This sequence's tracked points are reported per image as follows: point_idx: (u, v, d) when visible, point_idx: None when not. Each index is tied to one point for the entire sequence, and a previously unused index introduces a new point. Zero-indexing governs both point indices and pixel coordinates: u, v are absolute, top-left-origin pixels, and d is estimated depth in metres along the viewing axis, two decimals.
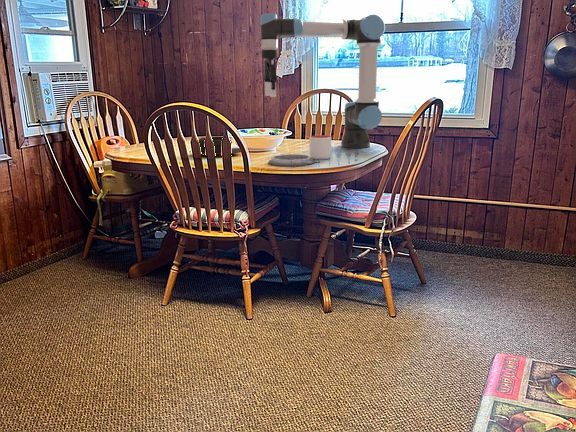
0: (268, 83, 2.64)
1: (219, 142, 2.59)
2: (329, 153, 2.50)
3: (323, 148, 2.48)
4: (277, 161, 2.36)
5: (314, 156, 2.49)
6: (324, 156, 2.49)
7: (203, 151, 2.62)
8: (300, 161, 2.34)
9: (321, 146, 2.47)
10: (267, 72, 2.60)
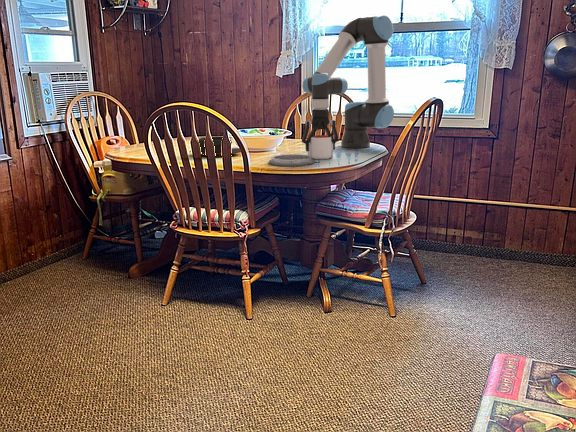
0: None
1: (219, 142, 2.59)
2: (329, 153, 2.50)
3: (323, 148, 2.48)
4: (277, 161, 2.36)
5: (314, 156, 2.49)
6: (324, 156, 2.49)
7: (203, 151, 2.62)
8: (300, 161, 2.34)
9: (321, 146, 2.47)
10: (326, 132, 2.52)
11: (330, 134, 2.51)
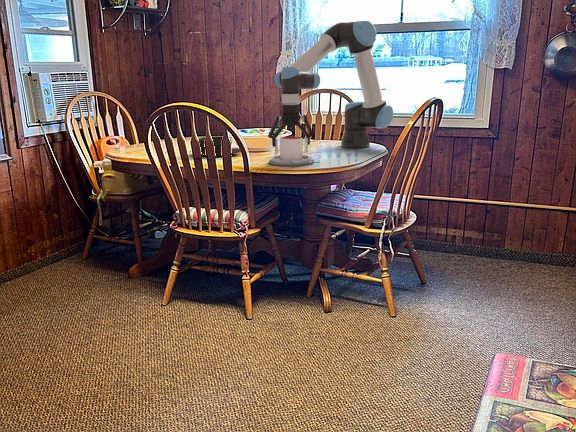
0: (305, 139, 2.41)
1: (219, 142, 2.59)
2: (300, 155, 2.38)
3: (294, 150, 2.36)
4: (277, 161, 2.36)
5: (284, 158, 2.38)
6: (295, 158, 2.37)
7: (203, 151, 2.62)
8: (300, 161, 2.34)
9: (291, 148, 2.36)
10: None
11: (303, 129, 2.39)
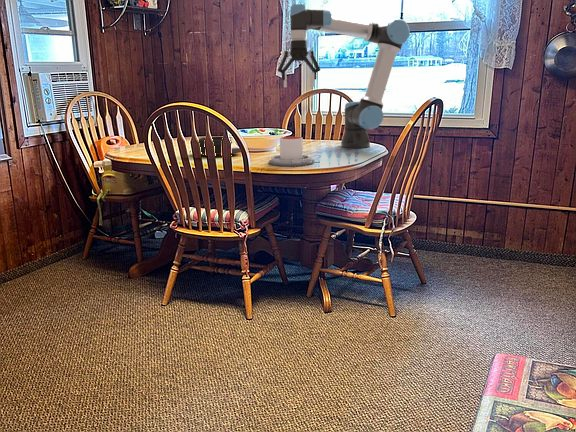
0: (312, 74, 2.60)
1: (219, 142, 2.59)
2: (300, 155, 2.38)
3: (294, 150, 2.36)
4: (277, 161, 2.36)
5: (284, 158, 2.38)
6: (295, 158, 2.37)
7: (203, 151, 2.62)
8: (300, 161, 2.34)
9: (291, 148, 2.36)
10: (306, 63, 2.59)
11: (310, 64, 2.58)
